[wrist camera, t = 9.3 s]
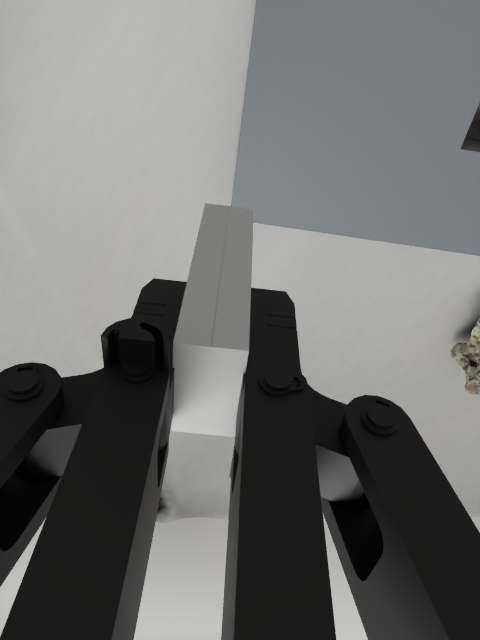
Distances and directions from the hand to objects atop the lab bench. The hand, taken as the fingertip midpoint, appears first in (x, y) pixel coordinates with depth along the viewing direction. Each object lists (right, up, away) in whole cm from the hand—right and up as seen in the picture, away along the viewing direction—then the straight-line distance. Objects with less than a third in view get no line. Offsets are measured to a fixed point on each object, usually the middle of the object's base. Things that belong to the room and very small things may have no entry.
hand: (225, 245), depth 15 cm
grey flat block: (+13, +11, +16) cm, 24 cm away
